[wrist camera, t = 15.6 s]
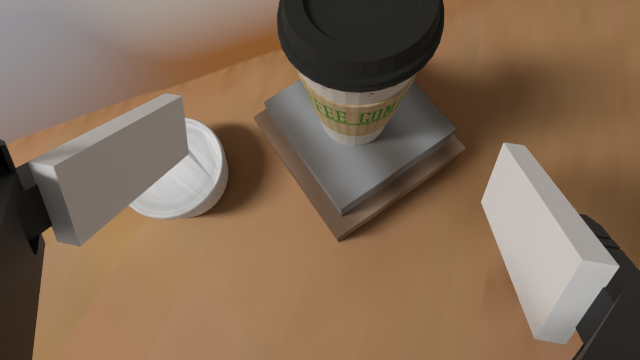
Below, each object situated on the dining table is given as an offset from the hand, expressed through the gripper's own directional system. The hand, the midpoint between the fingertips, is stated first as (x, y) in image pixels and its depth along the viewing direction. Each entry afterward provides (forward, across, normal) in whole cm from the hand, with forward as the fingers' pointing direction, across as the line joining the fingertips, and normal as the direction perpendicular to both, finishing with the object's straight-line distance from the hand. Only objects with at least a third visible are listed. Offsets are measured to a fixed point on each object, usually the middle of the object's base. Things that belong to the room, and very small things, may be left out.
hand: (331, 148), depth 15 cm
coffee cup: (+19, 0, -5) cm, 20 cm away
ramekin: (+20, -18, -16) cm, 31 cm away
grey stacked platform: (+25, 0, -11) cm, 27 cm away
